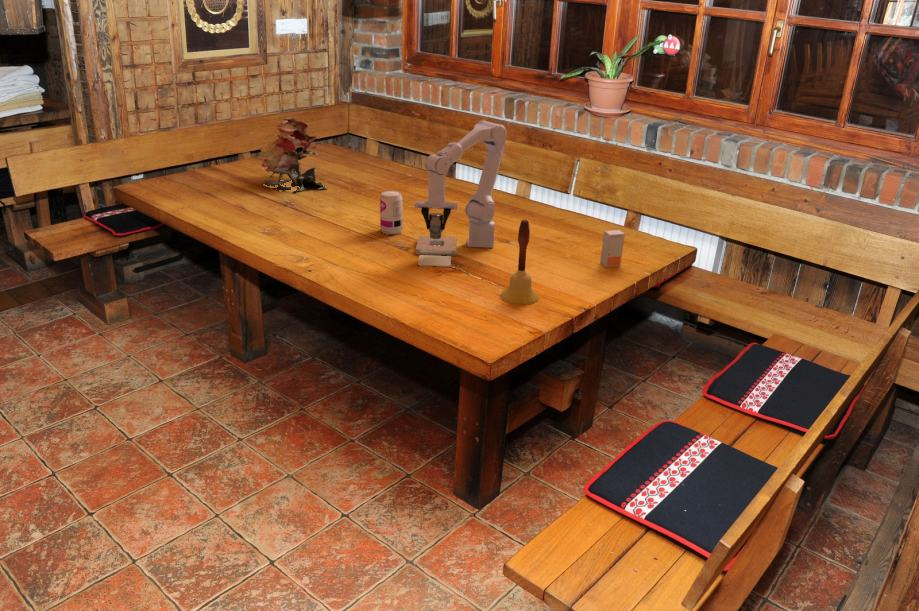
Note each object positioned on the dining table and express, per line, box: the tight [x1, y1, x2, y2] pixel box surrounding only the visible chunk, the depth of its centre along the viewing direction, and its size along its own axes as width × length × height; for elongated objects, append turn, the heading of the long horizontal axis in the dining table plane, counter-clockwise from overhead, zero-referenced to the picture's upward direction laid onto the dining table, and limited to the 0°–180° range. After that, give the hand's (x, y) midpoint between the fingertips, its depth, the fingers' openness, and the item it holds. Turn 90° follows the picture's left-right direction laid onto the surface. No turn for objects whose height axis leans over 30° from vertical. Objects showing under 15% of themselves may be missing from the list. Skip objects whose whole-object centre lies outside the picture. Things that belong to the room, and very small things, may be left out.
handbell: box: [499, 219, 540, 306], centre depth 236 cm, size 12×12×25 cm
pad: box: [417, 255, 452, 268], centre depth 266 cm, size 11×9×1 cm
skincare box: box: [599, 229, 626, 268], centre depth 266 cm, size 6×4×12 cm
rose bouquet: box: [260, 117, 327, 193], centre depth 337 cm, size 26×29×30 cm
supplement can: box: [379, 190, 403, 235], centre depth 289 cm, size 8×8×15 cm
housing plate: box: [415, 235, 458, 257], centre depth 277 cm, size 14×14×2 cm
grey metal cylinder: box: [428, 212, 444, 239], centre depth 266 cm, size 5×5×8 cm
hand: (435, 228), depth 266 cm, fingers closed on grey metal cylinder, 5 cm apart
